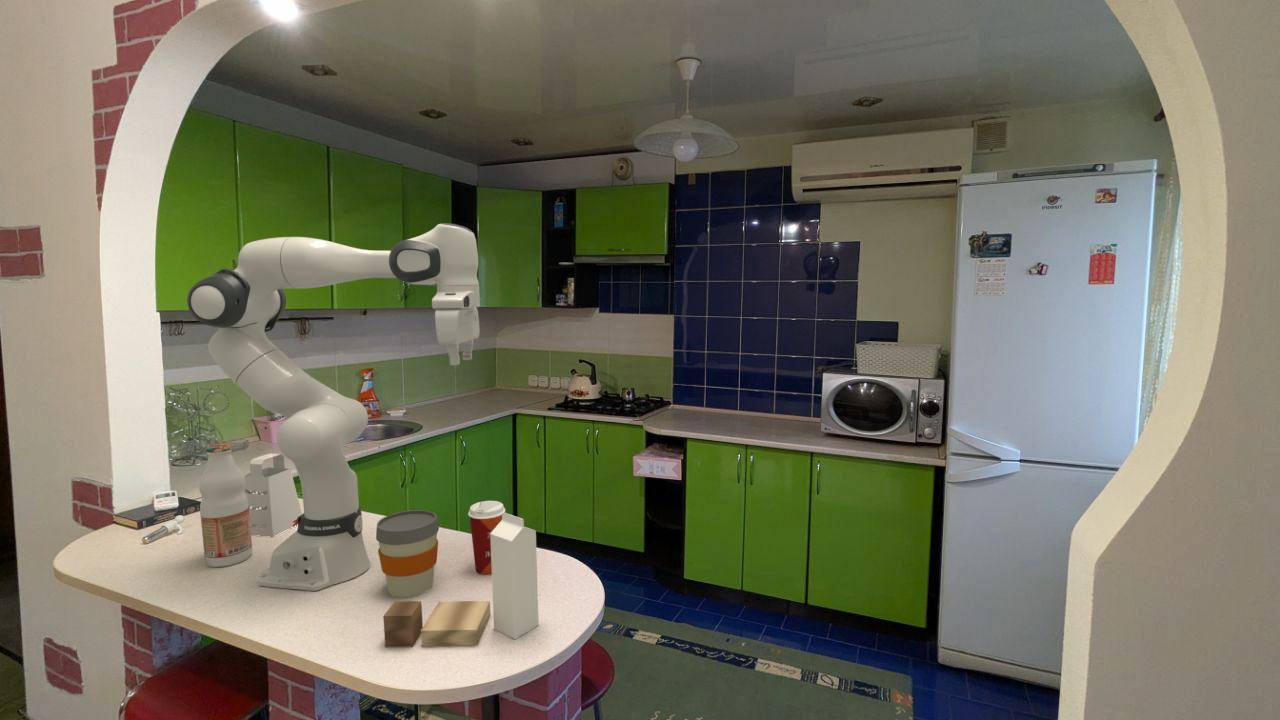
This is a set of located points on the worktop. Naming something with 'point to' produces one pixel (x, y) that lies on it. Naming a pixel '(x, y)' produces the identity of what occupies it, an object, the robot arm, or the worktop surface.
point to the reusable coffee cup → (408, 551)
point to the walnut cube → (403, 624)
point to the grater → (271, 496)
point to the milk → (514, 577)
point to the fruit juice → (224, 509)
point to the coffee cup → (484, 532)
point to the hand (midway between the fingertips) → (461, 362)
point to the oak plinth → (456, 624)
